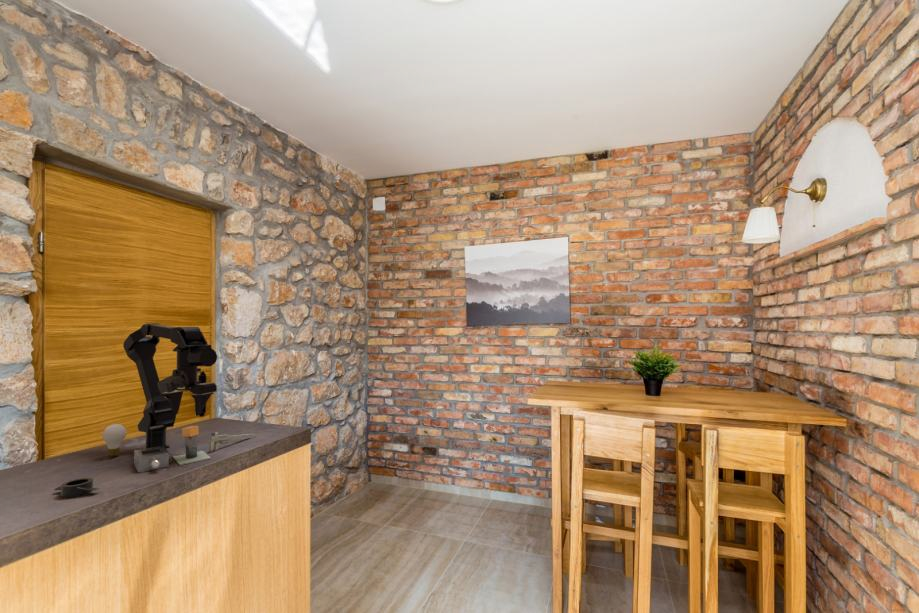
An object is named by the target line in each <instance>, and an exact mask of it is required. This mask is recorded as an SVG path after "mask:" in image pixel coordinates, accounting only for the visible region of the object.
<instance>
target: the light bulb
mask: <svg viewBox="0 0 919 613" xmlns="http://www.w3.org/2000/svg"><path fill="white" fill-rule="evenodd" d="M101 436H102V441H104V442H105V444H106V446H107V448H108V456H110V457H112V458H115V457H117V456H118V455H119V454H120V452H121V451H120V450H121V446H122V443H123V441H124V439H125V438H126V437H127V429H126V427H125V426H124V425H122V424H120V423H112V424H110V425H108V426H106V428H105V429H104V430H103V432H102V435H101Z"/></svg>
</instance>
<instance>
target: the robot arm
mask: <svg viewBox="0 0 919 613" xmlns="http://www.w3.org/2000/svg"><path fill="white" fill-rule="evenodd" d="M161 338H163V339H169V340H170V342H171V343H173V344H174V345H176V347H174V348H173V349H172V352H173V353H174V352H176V369H173V370H172V373H171V374H172V375H170V376H167V377H164V378H163V379H161V380H160V377H159V374H158V371H157V368H156V364H155V359H154V356H155V355H156V352H157V348H156V347H157V345H158V344H159V343H160V342H161V341H160V340H161ZM122 346H123V349H124V351H125V354H126V356H127V357H128V359H130V360H131V361H133V362H134V363H135V366H136V370H137V373H138V375H139V379H140V384H141V387H142V391H143V394H144V397H145V401H146V404H145V406H144V408H143V410H142V412H143V416H142V418H141V419H140V421H139V422H138V424H137V430H138V432H141V433H142V432H143V433H145V445H143V446H142V449H146V448H152V447H158V446H164V448H165V449H167V448H170V444H168V443H167V440H168V438H167V435H168V434H167V433H168V428H173V427H174V426H175V422H176V418H177V415H178V413H179V411H180V407H181V403H182V398H183V394H184V391H189V392H191V393H192V394H191V395H190V396H191V397H192V398H193V400H194V411H195V416H196V417H198V416H201V414H202V412H203V410H204V407H205V406H206V404H207V402H208V401H209V399H210V397H211V396H212V395H214V394H215V392H217V391H218V390H217V389H218V387H217V386H218V385H217V384H216V383H215V382H203V383H202V382H201V380H198V379H199V378H198V376H199V374H198V373H199V372H201V371H202V368H200V367H205V368H206V367H211V366H213V365H215V364H216V362H217V359H218V354H217V352H216V351H215V349H213V348H212V344H209V343H208V341H207V339H206V338H205V336H204V334H203V332H202V331H201V328H200V327H199V326H171V325H165V324H160V323H144V324H142V325H141V326H140V328H139V329H136V330H135V331H133V332H132V333H130V334H129V335H127V338H126V339H125V340H124V342H123V345H122Z"/></svg>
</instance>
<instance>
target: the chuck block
mask: <svg viewBox="0 0 919 613" xmlns="http://www.w3.org/2000/svg"><path fill="white" fill-rule="evenodd" d="M169 456H170V452H169V451H168V450H167V448H164V446H158V447H152V448H146V449H144V448H142V449H135V450H133V465H134V467H135V469H136V470H137V473H144V472H149V471H155V470H158V469H164V468H169V464H170V457H169Z"/></svg>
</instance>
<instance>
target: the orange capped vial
mask: <svg viewBox="0 0 919 613" xmlns="http://www.w3.org/2000/svg"><path fill="white" fill-rule="evenodd" d="M199 431H200V430H199V425H189V426H185V427H182V428H181V435H182V436H181V437H183V438H184V445H185V446H184V447H185V454H186V458H194V457H197V452H198V440H197V435H199V434H200V433H199Z"/></svg>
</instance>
